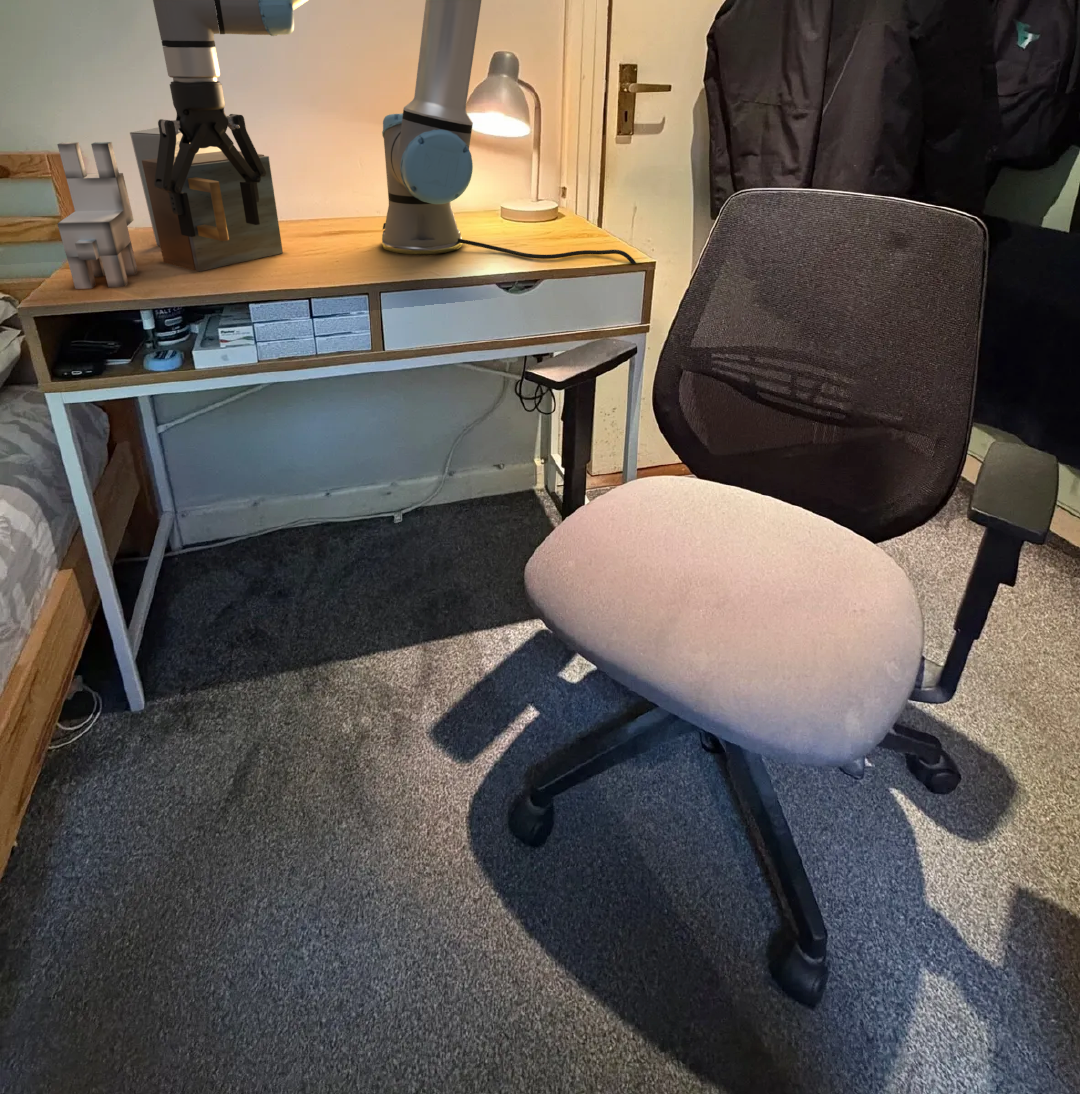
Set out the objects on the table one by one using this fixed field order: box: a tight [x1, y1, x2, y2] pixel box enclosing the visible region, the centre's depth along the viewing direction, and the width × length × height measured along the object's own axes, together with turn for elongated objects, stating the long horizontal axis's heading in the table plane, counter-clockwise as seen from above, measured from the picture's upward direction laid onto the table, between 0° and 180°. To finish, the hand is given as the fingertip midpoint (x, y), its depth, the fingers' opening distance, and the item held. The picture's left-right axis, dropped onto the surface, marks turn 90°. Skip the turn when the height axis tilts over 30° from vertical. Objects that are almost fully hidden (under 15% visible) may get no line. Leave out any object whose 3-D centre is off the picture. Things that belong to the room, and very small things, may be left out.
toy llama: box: [57, 141, 139, 290], centre depth 136 cm, size 8×18×20 cm, turn 11°
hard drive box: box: [129, 126, 221, 247], centre depth 161 cm, size 16×8×20 cm, turn 159°
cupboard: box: [142, 150, 265, 272], centre depth 150 cm, size 10×18×17 cm, turn 143°
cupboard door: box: [181, 155, 284, 272], centre depth 145 cm, size 8×18×16 cm, turn 143°
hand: (221, 229), depth 140 cm, fingers open, 12 cm apart
